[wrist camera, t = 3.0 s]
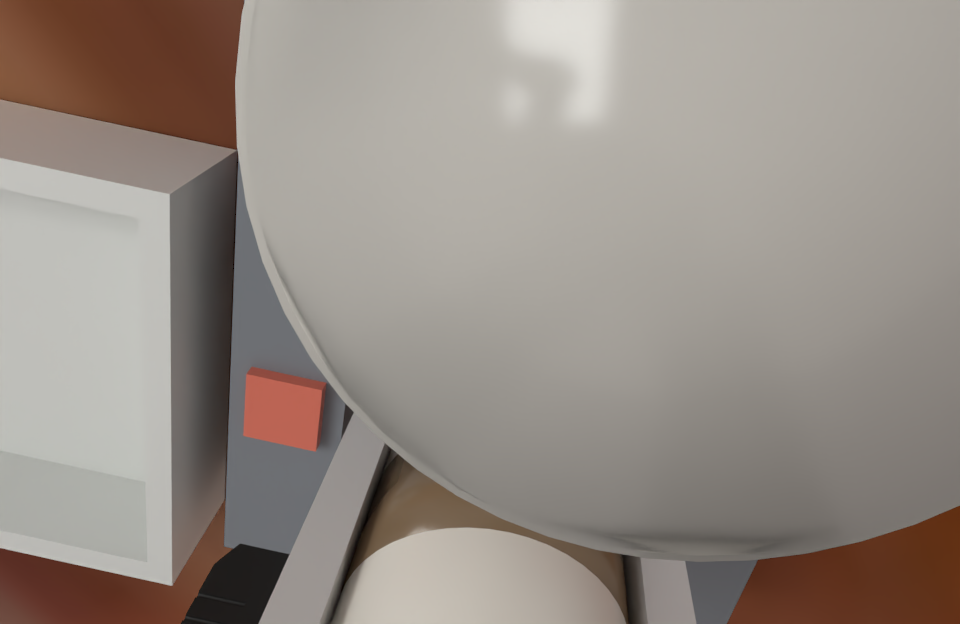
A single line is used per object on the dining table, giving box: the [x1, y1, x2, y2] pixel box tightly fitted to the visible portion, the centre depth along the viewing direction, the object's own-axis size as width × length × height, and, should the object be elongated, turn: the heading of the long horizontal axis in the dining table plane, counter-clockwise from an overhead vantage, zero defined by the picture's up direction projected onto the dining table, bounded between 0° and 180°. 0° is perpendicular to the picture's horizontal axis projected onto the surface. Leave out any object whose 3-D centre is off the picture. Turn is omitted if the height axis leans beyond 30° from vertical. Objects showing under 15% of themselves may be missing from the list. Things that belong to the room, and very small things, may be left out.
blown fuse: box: [330, 449, 629, 624], centre depth 13 cm, size 5×5×12 cm
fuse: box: [235, 0, 960, 562], centre depth 9 cm, size 5×5×12 cm
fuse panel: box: [224, 0, 758, 624], centre depth 15 cm, size 12×18×3 cm, turn 169°
